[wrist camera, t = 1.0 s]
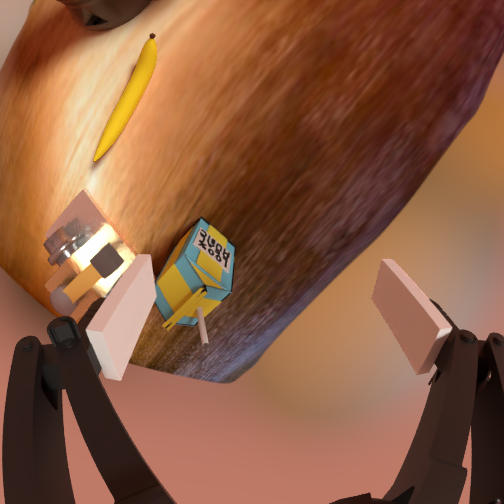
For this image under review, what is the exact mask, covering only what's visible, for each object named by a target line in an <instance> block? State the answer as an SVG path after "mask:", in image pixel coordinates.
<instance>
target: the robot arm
mask: <svg viewBox="0 0 504 504" xmlns="http://www.w3.org/2000/svg"><path fill="white" fill-rule="evenodd" d="M57 1H59V2H61V3H63V4H65V5H66V7H67V9H68V10H69V12H70V14H71V16H72V18H73V19H74V21H75V22H76V23H77V24H79V25H81V26H83V27H84V28H86V29H89V30H93V31H102V30H108V29H112V28H115V27H117V26H120V25H122V24H124V23H126V22H127V21H129V20H131V19H132V18H133V17H135V16H136V15H137V14H139V13H140V12H141V11H142V10H143V9H144V8H145V7H146V6H147V5H148V4H149V3H150V1H151V0H57ZM156 297H157V295H156V289H155V283H154V276H153V269H152V261H151V255H147V254H138V255H137V256H136V258H135V259H134V260H133V262H132V263H131V264H130V266H129V267H128V268H127V270H126V271H125V273H124V274H123V275H122V277H121V278H120V279H119V281H118V282H117V284H116V285H115V286H114V288H113V289H112V291H111V292H110V294H109V295H108V297H107V298H103V297H100V298H98V299H97V300H96V301H94V302H93V303H92V304H91V306H90V307H89V308H88V311H86V313H85V314H84V316H83V317H82V318H81V320H80V321H79V323H78V324H76V321H75V320H74V319H73V318H72V317H69V316H62V317H58V318H56V319H54V320H53V321H52V322H50V323H49V325H48V327H47V333H48V335H49V337H50V339H51V341H52V344H47V345H41V343H40V341H39V339H38V338H37V337H35V336H27V337H24V338H22V339H21V340H20V341H19V342H18V343H17V344H16V347H15V351H14V355H13V360H12V365H11V370H10V376H9V382H8V388H7V395H6V403H5V412H4V423H3V443H2V463H3V464H2V466H3V486H4V497H5V504H75V499H74V495H73V490H72V485H71V480H70V474H69V468H68V462H67V454H66V447H65V437H64V425H63V409H62V389H66V392H67V395H68V398H69V401H70V404H71V406H72V410H73V412H74V415H75V418H76V420H77V423H78V425H79V428H80V430H81V433H82V435H83V438H84V440H85V442H86V444H87V447H88V449H89V451H90V453H91V456H92V458H93V460H94V462H95V464H96V466H97V468H98V470H99V472H100V474H101V476H102V477H103V479H104V481H105V483H106V485H107V486H108V488H109V490H110V492H111V494H112V495H113V497H114V500H115V502H114V504H177V503H176V502H175V501H174V500H173V498H172V497H171V496H170V494H169V493H168V492H167V491H166V489H165V488H164V487H163V485H162V484H161V483H160V481H159V480H158V479H157V477H156V476H155V475H154V473H153V472H152V470H151V469H150V467H149V466H148V464H147V463H146V461H145V460H144V458H143V457H142V455H141V454H140V452H139V451H138V449H137V447H136V446H135V444H134V442H133V441H132V439H131V438H130V436H129V434H128V432H127V431H126V429H125V427H124V425H123V424H122V422H121V420H120V418H119V417H118V415H117V413H116V411H115V409H114V407H113V406H112V403H111V401H110V399H109V397H108V395H107V393H106V391H105V389H104V387H103V385H102V383H101V381H100V379H99V376H98V375H99V373H100V371H101V369H102V371H103V374H104V375H105V378H109V379H114V380H120V381H121V379H122V376H123V374H124V371H125V369H126V366H127V364H128V361H129V359H130V357H131V354H132V352H133V349H134V347H135V345H136V342H137V340H138V337H139V335H140V333H141V331H142V328H143V326H144V324H145V321H146V319H147V317H148V315H149V312H150V310H151V308H152V306H153V304H154V301H155V299H156ZM372 300H373V302H374V303H375V305H376V306H377V308H378V309H379V311H380V313H381V314H382V316H383V318H384V319H385V321H386V322H387V324H388V326H389V327H390V329H391V331H392V332H393V334H394V336H395V337H396V339H397V341H398V342H399V344H400V346H401V348H402V349H403V351H404V353H405V355H406V356H407V358H408V360H409V362H410V363H411V365H412V367H413V369H414V371H415V372H416V374H417V375H419V374H424V373H428V372H429V371H430V370H431V368H432V366H433V364H434V363H435V365H436V366H437V370H436V372H435V374H434V375H433V377H432V378H431V380H430V382H429V385H430V384H431V382H432V385H431V388H430V392H429V395H428V399H427V402H426V405H425V408H424V411H423V414H422V417H421V420H420V423H419V426H418V429H417V431H416V434H415V436H414V439H413V442H412V444H411V447H410V449H409V451H408V454H407V456H406V458H405V461H404V463H403V465H402V467H401V469H400V472H399V474H398V476H397V478H396V480H395V482H394V484H393V486H392V487H391V488H390V490H389V491H388V492H387V493H386V495H385V496H384V497H383V499H377V498H371V494H370V493H366V494H362V495H358V496H353V497H349V498H344V499H340V500H337V501H335V502H332V503H330V504H458V502H459V500H460V497H461V493H462V490H463V487H464V484H465V481H466V477H467V468H464V467H462V462H463V458H464V454H465V450H466V445H467V441H468V436H469V430H470V426H471V440H472V469H471V487H470V501H469V504H504V337H503V336H502V335H501V334H498V333H491V334H489V336H488V338H487V340H486V341H483V340H478V339H477V337H476V336H475V335H474V334H473V333H472V332H470V331H467V330H459V329H458V328H457V326H456V325H455V324H454V323H453V321H452V320H451V319H450V318H449V317H448V316H447V314H446V313H445V312H444V311H443V310H442V308H441V307H440V306H439V305H438V304H437V303H436V302H434V301H433V300H431V299H428V298H427V297H426V295H425V294H424V293H423V292H422V291H421V290H420V288H419V287H418V286H417V285H416V284H415V283H414V282H413V281H412V280H411V278H409V276H408V275H407V274H406V273H405V272H404V271H403V270H402V269H401V268H400V267H399V265H398V264H396V262H395V261H394V260H393V259H381V264H380V268H379V272H378V276H377V280H376V284H375V288H374V292H373V295H372ZM490 374H491V378H490V379H489V376H490Z"/></svg>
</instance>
